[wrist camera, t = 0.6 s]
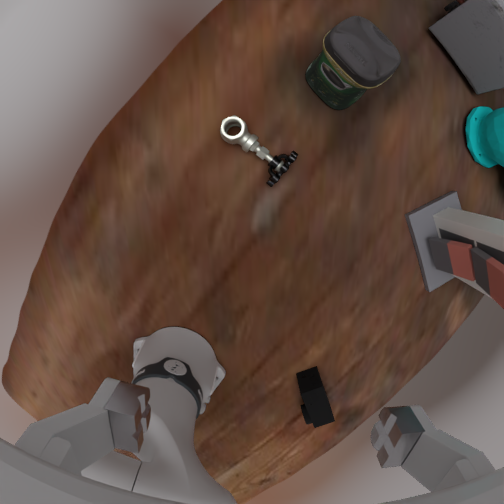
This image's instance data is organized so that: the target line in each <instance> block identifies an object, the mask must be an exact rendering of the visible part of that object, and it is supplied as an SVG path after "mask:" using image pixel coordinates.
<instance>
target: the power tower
mask: <svg viewBox="0 0 504 504" xmlns="http://www.w3.org/2000/svg"><path fill="white" fill-rule="evenodd" d="M405 217H406V221H407V224H408V227H409V230H410V233H411V237H412V240H413V243H414V247H415V250H416V254H417V257H418V261H419V265H420V269H421V273H422V277H423V281H424V285H425V289H426V290H427V291H429V292H431V291H432V290H434V289H436V288H438V287H439V286H441V285H443V284H444V283H446V282H448V281H449V280H451V279H453V278H454V277H456V278H458V279H460V280H462V281H463V282H465V283H467V284H469V285H470V286H472V287H474V288H475V289H477V290H479V291H480V292H482V293H484V294H485V295H487V296H489V297H490V298H492V297H491V296H490V295H488V294H487V293H486V292H485V291H484V290H483V289H482V288H481V287H480V286H479V285H478V284H477V283H476V280H475V281H470V280H467V279H464V278H461V277H459V276H456V275H453V274H450V273H447V272H444V271H441V270H438V269H436V267H435V263H434V259H433V255H432V251H431V247H430V243H429V239H430V238H432V237H437V238H442V239H447V240H452V241H457V242H461V243H466V244H471V245H472V248H474V247H478V248H479V249H481V250H482V251H484V252H485V253H487V254H488V255H490V256H491V257H493V258H494V259H496V260H497V261H499V262H500V263H502V264H503V265H504V220H500V219H496V218H492V217H488V216H484V215H480V214H476V213H472V212H468V211H463V210H461V206H460V202H459V198H458V195H457V191H451V192H449V193H447V194H445V195H443V196H441V197H439V198H437V199H435V200H433V201H431V202H429V203H427V204H425V205H423V206H421V207H419V208H417V209H415V210H413V211H411V212H409V213H407V214H405ZM492 299H493V298H492Z"/></svg>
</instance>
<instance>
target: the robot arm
mask: <svg viewBox="0 0 504 504" xmlns="http://www.w3.org/2000/svg"><path fill="white" fill-rule="evenodd" d="M132 367H133V374H134V378H133V380H132V383H128V382H124V381H120V380H116V379H112V378H109V377H108V378H106V379H105V380H104V381H103V383H102V384H101V386H100V387H99V389H98V390H97V392H96V393H95V395H94V397H93V398H92V400H91V401H90V403H89V404H85V403H84V404H82V405H79V406H77V407H74V408H72V409H69V410H67V411H64V412H61V413H59V414H56V415H54V416H51V417H48V418H45V419H43V420H40V421H37V422H35V423H32V424H30V425H29V427H28V428H27V430H26V431H25V432H24V433H23V435H22V436H21V437H20V439H19V440H18V441H17V443H16V444H15V445H12V444H10V443H8V442H6V441H5V440H3V439H1V438H0V504H237V502H236V500H235V499H234V497H233V496H232V494H231V493H230V492H229V491H228V490H227V489H225V488H224V487H222V486H221V485H220V484H219V483H217V482H216V481H215V480H214V479H213V478H212V477H211V476H210V475H209V473H208V472H207V471H206V470H205V468H204V467H203V465H202V464H201V462H200V460H199V458H198V456H197V454H196V451H195V448H194V427H195V420H196V419H197V417H198V416H199V414H203V412H204V411H205V408H206V404H204V403H209V401H210V398H211V397H210V395H212V393H213V392H214V390H215V389H216V388H217V386H218V385H219V384H220V382H221V381H222V380H223V378H224V377H225V374H226V371H225V369H224V368H223V367H222V366H221V365H220V364H219V363H218V361H217V359H216V356H215V353H214V351H213V349H212V347H211V346H210V344H209V343H208V342H207V341H206V340H205V339H204V338H203V337H202V336H200V335H199V334H197V333H195V332H193V331H191V330H188V329H185V328H181V327H167V328H163V329H160V330H158V331H156V332H154V333H153V334H152V335H150V336H148V337H141V338H137V339H136V340H135V342H134V362H133V364H132ZM216 377H218V378H216ZM379 418H380V420H379V421H378V422H377V423H375V424H374V426H373V429H372V431H371V443H372V445H373V447H374V448H375V449H376V450H378V454H377V458H378V460H379V462H380V465H381V467H382V468H387V467H396V466H401V467H402V468H403V469H404V470H406V471H407V472H408V473H409V474H410V475H411V476H413V477H414V478H415V479H416V480H417V481H419V482H420V483H421V484H422V485H423V486H425V487H426V488H427V489H428V490H430V491H431V493H427V494H423V495H419V496H415V497H410V498H406V499H401V500H396V501H392V502H386V503H380V504H504V467H503V468H501V469H498V470H495V469H494V467H493V466H492V464H491V463H490V461H489V460H488V459H487V457H486V456H485V455H484V453H483V452H481V451H479V450H477V449H475V448H473V447H472V446H470V445H468V444H466V443H464V442H462V441H460V440H458V439H456V438H454V437H453V436H451V435H449V434H447V433H445V432H443V431H442V430H437V429H436V428H435V426H434V425H433V423H432V422H431V421H430V419H429V417H428V416H427V414H426V413H425V411H424V410H423V408H422V407H421V406H420V405H410V406H400V407H384V408H383V409H382V410H381V412H380V414H379ZM115 448H118V449H122V450H126V451H130V452H132V453H133V454H134V455H136V456H137V457H138V458H139V459H140V460H141V461H139V460H137V459H134V458H131V457H128V456H126V455H123V454H121V453H118V452H116V451H113V450H114V449H115Z"/></svg>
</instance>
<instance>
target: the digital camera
mask: <svg viewBox="0 0 504 504" xmlns="http://www.w3.org/2000/svg"><path fill="white" fill-rule="evenodd" d="M296 375H297V379H298V384H299V388H300V393H301V396H302V399H303V401H304V403H305V404H303V405H301V409H302V413H303V416H304V419H305V422H306V424H310V423H313V425H314V427H315V428H316V427H319V426H322V425H325V424H328V423H331V422H334V421H335V420H334V417H333V414H332V410H331V407H330V404H329V401H328V398H327V395H326V392H325V389H324V386H323V384H322V381H321V378H320V375H319V372H318V369H317V366H316V367H313V368H310V369H307V370H304V371H301V372H298V373H297V374H296ZM305 376H306V377H305ZM303 377H305V378H303Z"/></svg>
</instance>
